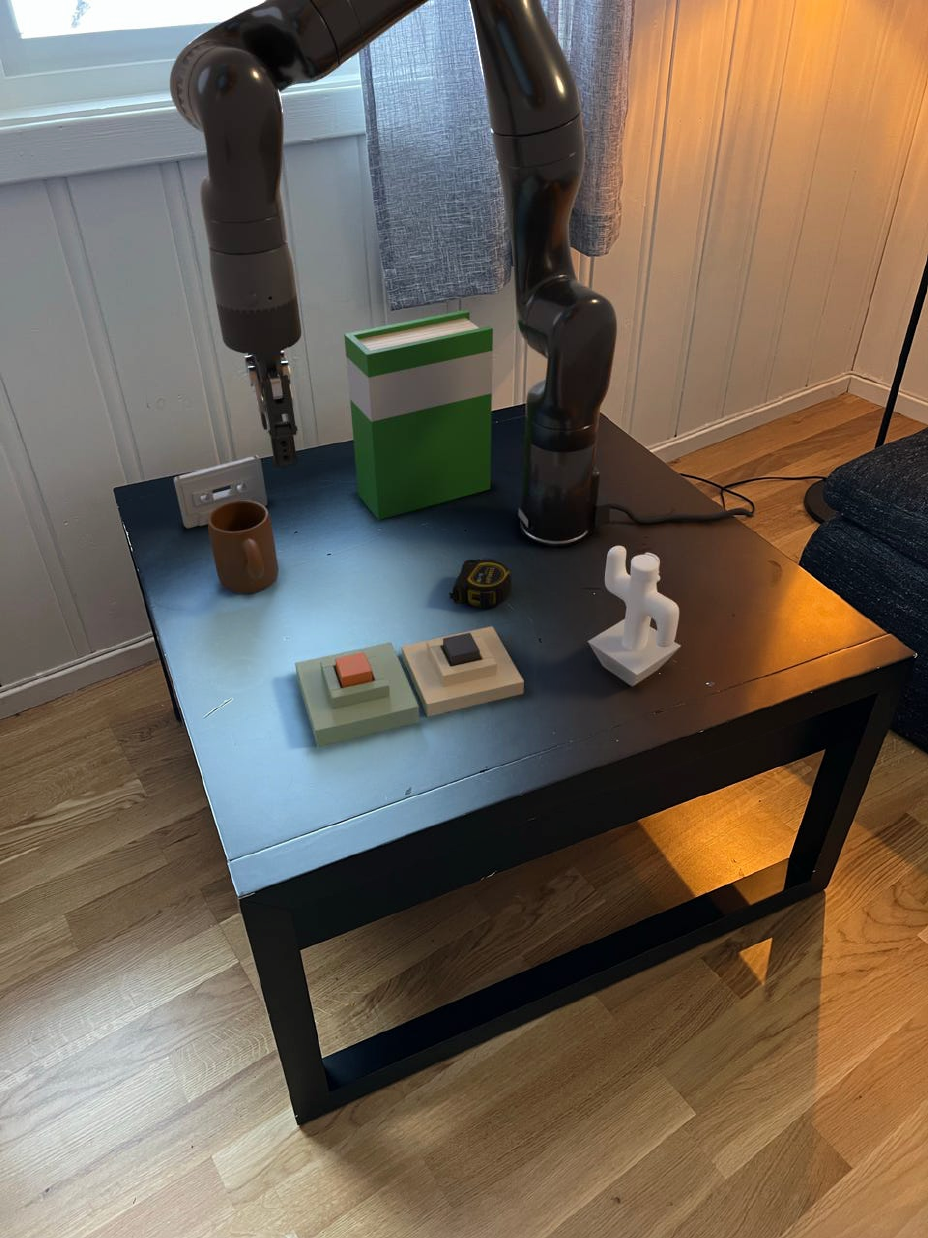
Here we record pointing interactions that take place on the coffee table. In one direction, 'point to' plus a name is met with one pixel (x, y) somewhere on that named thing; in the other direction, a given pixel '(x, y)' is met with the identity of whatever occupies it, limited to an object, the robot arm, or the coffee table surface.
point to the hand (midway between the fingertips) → (279, 446)
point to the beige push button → (461, 673)
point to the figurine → (637, 619)
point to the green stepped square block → (356, 696)
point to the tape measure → (482, 583)
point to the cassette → (217, 477)
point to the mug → (243, 546)
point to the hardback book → (420, 411)
